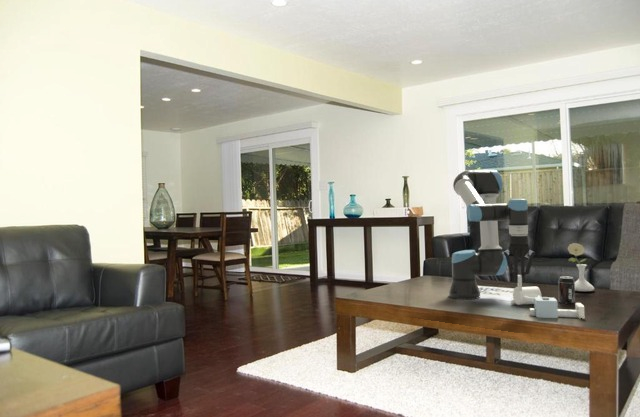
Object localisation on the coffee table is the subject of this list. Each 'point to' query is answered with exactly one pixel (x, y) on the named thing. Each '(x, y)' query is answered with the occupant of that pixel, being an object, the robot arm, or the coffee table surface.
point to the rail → (567, 312)
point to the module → (546, 307)
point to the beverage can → (566, 290)
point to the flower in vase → (581, 282)
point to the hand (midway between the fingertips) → (519, 290)
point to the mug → (526, 295)
